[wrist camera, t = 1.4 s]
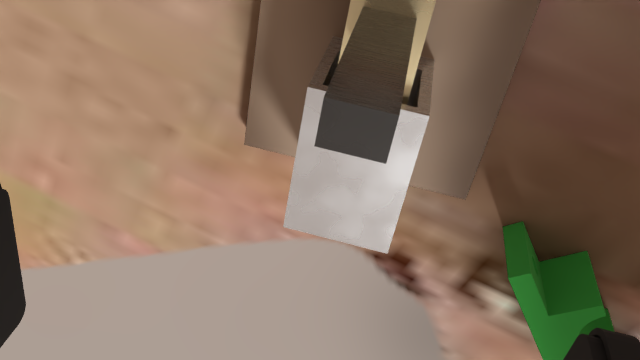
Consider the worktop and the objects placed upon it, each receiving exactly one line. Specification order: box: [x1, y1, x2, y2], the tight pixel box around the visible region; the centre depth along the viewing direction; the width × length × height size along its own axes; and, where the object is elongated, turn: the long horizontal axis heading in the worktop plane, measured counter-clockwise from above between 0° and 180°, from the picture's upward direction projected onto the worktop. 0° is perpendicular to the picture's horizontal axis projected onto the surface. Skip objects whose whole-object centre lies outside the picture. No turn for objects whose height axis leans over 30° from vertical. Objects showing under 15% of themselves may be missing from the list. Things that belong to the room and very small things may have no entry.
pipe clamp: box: [503, 222, 614, 360], centre depth 34 cm, size 11×4×5 cm, turn 26°
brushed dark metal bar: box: [314, 0, 436, 164], centre depth 22 cm, size 3×13×11 cm, turn 170°
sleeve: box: [283, 36, 434, 253], centre depth 28 cm, size 5×7×6 cm
